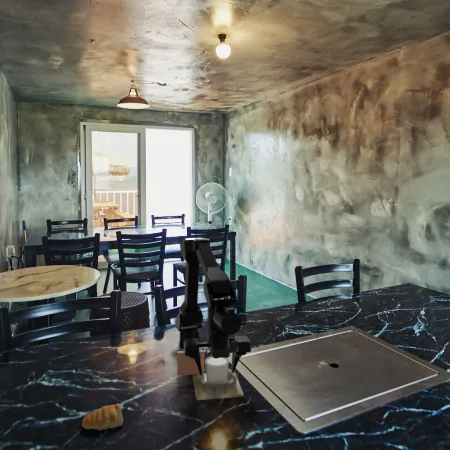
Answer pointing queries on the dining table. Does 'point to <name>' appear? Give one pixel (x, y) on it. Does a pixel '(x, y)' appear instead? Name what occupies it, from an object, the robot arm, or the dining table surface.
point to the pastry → (104, 418)
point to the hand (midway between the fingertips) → (216, 373)
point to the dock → (216, 387)
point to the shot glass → (216, 370)
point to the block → (188, 363)
